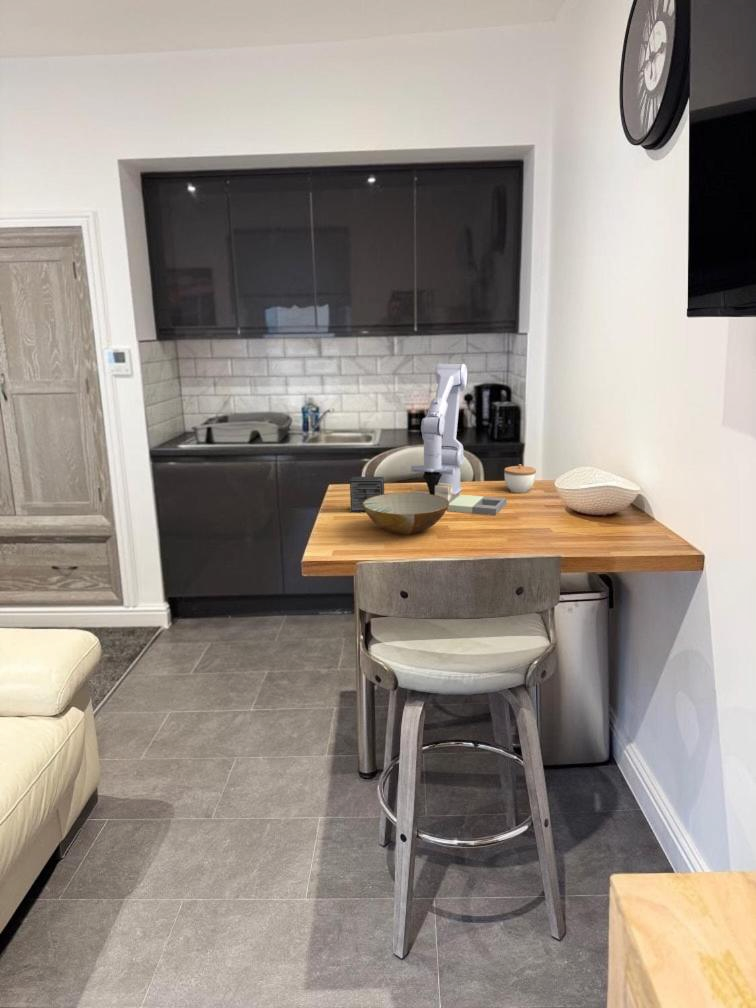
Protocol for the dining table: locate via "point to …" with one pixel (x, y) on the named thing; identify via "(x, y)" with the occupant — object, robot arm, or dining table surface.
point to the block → (444, 490)
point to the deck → (474, 504)
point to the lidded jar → (519, 478)
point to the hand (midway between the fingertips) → (432, 494)
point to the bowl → (405, 511)
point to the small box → (364, 490)
